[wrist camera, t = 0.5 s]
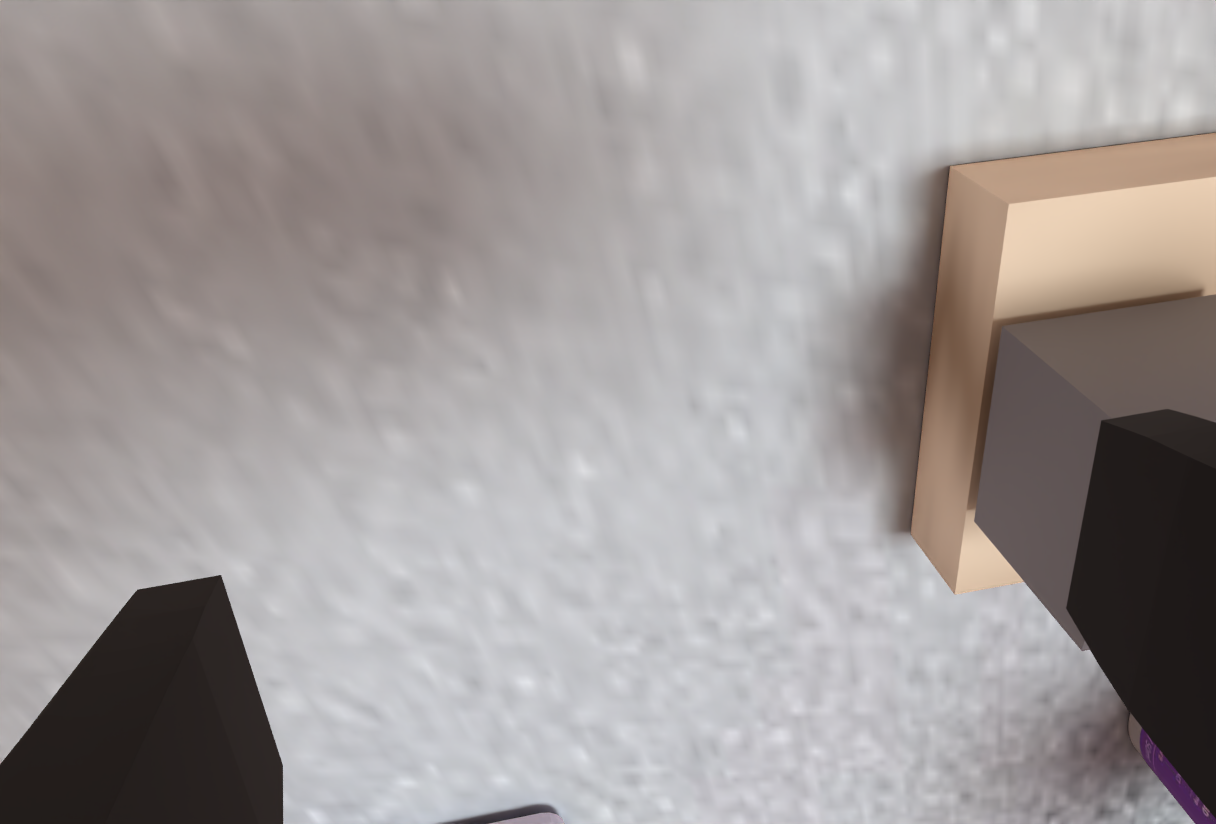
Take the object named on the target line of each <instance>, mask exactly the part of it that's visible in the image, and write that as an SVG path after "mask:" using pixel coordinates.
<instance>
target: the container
mask: <svg viewBox="0 0 1216 824" xmlns="http://www.w3.org/2000/svg"><path fill="white" fill-rule="evenodd" d="M1128 730H1129V736H1130V739H1131V742H1132V744H1133V745H1134V747H1135V748H1136V749H1137V751H1138V752H1139V753H1140V755H1141V756H1142V757H1143V759H1144V760H1145V761H1146V763H1147V764H1148V765H1149V766H1150V768H1151V769H1152V770H1153V771H1154V773H1155V774H1156V775H1157V776H1158V778H1159V779H1160V780H1161V781H1162V783H1163V784H1164V785H1165V786H1166V788H1167V789H1168V790H1169V791H1170V793H1171V794H1172V795H1173V796H1174V798H1175V799H1176V800H1177V801H1178V803H1179V804H1180V805H1181V806H1182V808H1183V809H1184V810H1185V811H1186V813H1187V814H1188V815H1189V816H1190V818H1191V819H1192V820H1193V821H1194V823H1195V824H1216V819H1215V817H1214V816H1213V815H1212V814H1211V813H1210V811H1209V810H1208V809H1207V808H1206V806H1205V805H1204V804H1203V803H1202V802H1201V800H1200V799H1199V798H1198V797H1197V795H1196V794H1195V793H1194V792H1193V791H1192V789H1191V788H1190V787H1189V786H1188V784H1187V783H1186V782H1185V781H1184V779H1183V778H1182V777H1181V776H1180V774H1179V773H1178V772H1177V771H1176V770H1175V768H1174V767H1173V766H1172V765H1171V763H1170V762H1169V761H1168V760H1167V758H1166V757H1165V756H1164V755H1163V753H1162V752H1161V751H1160V750H1159V748H1158V747H1157V746H1156V745H1155V743H1154V742H1153V741H1152V740H1151V738H1150V737H1149V736H1148V735H1147V733H1146V732H1145V731H1144V730H1143V728H1142V727H1141V726H1140V724H1139V723H1138V722H1137V721H1136V719H1135V718H1134V717H1133V715H1132V714H1131V713H1130V717H1129V724H1128Z"/></svg>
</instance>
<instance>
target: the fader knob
mask: <svg viewBox="0 0 1216 824" xmlns="http://www.w3.org/2000/svg"><path fill="white" fill-rule="evenodd" d="M1163 409H1170V410H1174V411H1178V412H1182V413H1185V414H1189V415H1192V416H1196V417H1200V418H1203V419H1206V420H1209V421H1213V422H1216V294H1215V295H1208V296H1201V297H1194V298H1188V299H1181V300H1174V301H1167V302H1161V303H1154V304H1147V305H1140V306H1134V307H1127V308H1120V309H1113V310H1107V311H1100V312H1093V313H1086V314H1080V315H1073V316H1066V317H1059V318H1053V319H1046V320H1039V321H1032V322H1026V323H1019V324H1012V325H1005V326H1002V330H1001V337H1000V344H999V351H998V358H997V365H996V372H995V379H994V386H993V393H992V400H991V407H990V413H989V420H988V427H987V434H986V441H985V448H984V455H983V462H982V469H981V476H980V483H979V490H978V497H977V504H976V511H975V518H974V522H975V523H976V524H977V525H978V527H979V528H980V529H981V530H982V531H983V533H984V534H985V535H986V536H987V537H988V539H989V540H990V541H991V542H992V544H993V545H994V546H995V547H996V548H997V550H998V551H999V552H1000V553H1001V554H1002V556H1003V557H1004V558H1005V559H1006V560H1007V562H1008V563H1009V564H1010V565H1011V566H1012V568H1013V569H1014V570H1015V571H1016V572H1017V574H1018V575H1019V576H1020V577H1021V578H1022V580H1023V581H1024V582H1025V583H1026V584H1027V586H1028V587H1029V588H1030V589H1031V590H1032V592H1033V593H1034V594H1035V595H1036V596H1037V598H1038V599H1039V600H1040V601H1041V602H1042V604H1043V605H1044V606H1045V607H1046V608H1047V610H1048V611H1049V612H1050V613H1051V614H1052V616H1053V617H1054V618H1055V619H1056V620H1057V622H1058V623H1059V624H1060V625H1061V626H1062V628H1063V629H1064V630H1065V631H1066V632H1067V634H1068V635H1069V636H1070V637H1071V638H1072V640H1073V641H1074V642H1075V643H1076V644H1077V646H1078V647H1079V648H1080V649H1081V650H1082V651H1084V650H1090V649H1089V647H1088V645H1087V643H1086V642H1085V640H1084V638H1083V637H1082V635H1081V633H1080V631H1079V630H1078V628H1077V626H1076V625H1075V623H1074V621H1073V620H1072V618H1071V616H1070V614H1069V613H1068V611H1067V609H1066V606H1067V600H1068V595H1069V590H1070V584H1071V579H1072V574H1073V568H1074V563H1075V558H1076V552H1077V547H1078V542H1079V536H1080V531H1081V525H1082V520H1083V515H1084V509H1085V504H1086V499H1087V493H1088V488H1089V483H1090V477H1091V472H1092V467H1093V461H1094V456H1095V451H1096V445H1097V440H1098V435H1099V429H1100V424H1101V420H1106V419H1112V418H1118V417H1123V416H1129V415H1135V414H1140V413H1146V412H1152V411H1158V410H1163Z"/></svg>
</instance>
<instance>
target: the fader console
mask: <svg viewBox="0 0 1216 824" xmlns="http://www.w3.org/2000/svg"><path fill="white" fill-rule="evenodd" d="M1215 294H1216V133H1210V134H1202V135H1194V136H1186V137H1178V138H1170V139H1162V140H1154V141H1146V142H1138V143H1130V144H1122V145H1114V146H1107V147H1099V148H1091V149H1083V150H1075V151H1067V152H1059V153H1051V154H1043V155H1035V156H1027V157H1019V158H1011V159H1003V160H995V161H987V162H979V163H971V164H963V165H955V166H950V172H949V181H948V190H947V200H946V209H945V218H944V228H943V237H942V246H941V256H940V265H939V274H938V284H937V293H936V302H935V312H934V321H933V330H932V340H931V349H930V358H929V368H928V377H927V386H926V396H925V405H924V414H923V424H922V433H921V442H920V452H919V461H918V470H917V480H916V489H915V498H914V508H913V517H912V526H911V536H912V537H913V538H914V540H915V541H916V542H917V544H918V545H919V546H920V548H921V549H922V551H923V552H924V553H925V555H926V556H927V557H928V559H929V560H930V561H931V563H932V564H933V566H934V567H935V568H936V570H937V571H938V572H939V574H940V575H941V576H942V578H943V579H944V581H945V582H946V583H947V585H948V586H949V587H950V589H951V590H952V591H953V593H954V594H955V595H956V594H961V593H966V592H972V591H977V590H983V589H988V588H994V587H999V586H1004V585H1010V584H1015V583H1021V582H1024V581H1023V580H1022V578H1021V577H1020V576H1019V575H1018V574H1017V572H1016V571H1015V570H1014V569H1013V568H1012V566H1011V565H1010V564H1009V563H1008V562H1007V560H1006V559H1005V558H1004V557H1003V556H1002V554H1001V553H1000V552H999V551H998V550H997V548H996V547H995V546H994V545H993V544H992V542H991V541H990V540H989V539H988V537H987V536H986V535H985V534H984V533H983V531H982V530H981V529H980V528H979V527H978V525H977V524H976V523H975V522H974V518H975V511H976V504H977V497H978V490H979V483H980V476H981V469H982V462H983V455H984V448H985V441H986V434H987V427H988V420H989V413H990V407H991V400H992V393H993V386H994V379H995V372H996V365H997V358H998V351H999V344H1000V337H1001V330H1002V326H1005V325H1012V324H1019V323H1026V322H1032V321H1039V320H1046V319H1053V318H1059V317H1066V316H1073V315H1080V314H1086V313H1093V312H1100V311H1107V310H1113V309H1120V308H1127V307H1134V306H1140V305H1147V304H1154V303H1161V302H1167V301H1174V300H1181V299H1188V298H1194V297H1201V296H1208V295H1215Z"/></svg>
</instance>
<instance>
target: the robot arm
mask: <svg viewBox="0 0 1216 824" xmlns="http://www.w3.org/2000/svg"><path fill="white" fill-rule="evenodd" d="M1066 609H1067V611H1068V613H1069V614H1070V616H1071V618H1072V620H1073V621H1074V623H1075V625H1076V626H1077V628H1078V630H1079V631H1080V633H1081V635H1082V637H1083V638H1084V640H1085V642H1086V643H1087V645H1088V647H1089V649H1090V650H1091V652H1092V654H1093V655H1094V657H1095V659H1096V660H1097V662H1098V664H1099V665H1100V667H1101V669H1102V670H1103V672H1104V673H1105V675H1106V676H1107V678H1108V679H1109V681H1110V683H1111V684H1112V686H1113V687H1114V689H1115V690H1116V692H1117V693H1118V695H1119V697H1120V698H1121V700H1122V701H1123V703H1124V704H1125V706H1126V707H1127V709H1128V710H1129V712H1130V713H1131V714H1132V715H1133V717H1134V718H1135V719H1136V721H1137V722H1138V723H1139V724H1140V726H1141V727H1142V728H1143V730H1144V731H1145V732H1146V733H1147V735H1148V736H1149V737H1150V738H1151V740H1152V741H1153V742H1154V743H1155V745H1156V746H1157V747H1158V748H1159V750H1160V751H1161V752H1162V753H1163V755H1164V756H1165V757H1166V758H1167V760H1168V761H1169V762H1170V763H1171V765H1172V766H1173V767H1174V768H1175V770H1176V771H1177V772H1178V773H1179V774H1180V776H1181V777H1182V778H1183V779H1184V781H1185V782H1186V783H1187V784H1188V786H1189V787H1190V788H1191V789H1192V791H1193V792H1194V793H1195V794H1196V795H1197V797H1198V798H1199V799H1200V800H1201V802H1202V803H1203V804H1204V805H1205V806H1206V808H1207V809H1208V810H1209V811H1210V813H1211V814H1212V815H1213V816H1214V817H1215V819H1216V422H1213V421H1209V420H1206V419H1203V418H1200V417H1196V416H1192V415H1189V414H1185V413H1182V412H1178V411H1174V410H1170V409H1163V410H1158V411H1152V412H1146V413H1140V414H1135V415H1129V416H1123V417H1118V418H1112V419H1106V420H1101V424H1100V429H1099V435H1098V440H1097V445H1096V451H1095V456H1094V461H1093V467H1092V472H1091V477H1090V483H1089V488H1088V493H1087V499H1086V504H1085V509H1084V515H1083V520H1082V525H1081V531H1080V536H1079V542H1078V547H1077V552H1076V558H1075V563H1074V568H1073V574H1072V579H1071V584H1070V590H1069V595H1068V600H1067V606H1066ZM0 824H283V765H282V762H281V758H280V755H279V752H278V749H277V746H276V743H275V740H274V737H273V734H272V731H271V728H270V725H269V722H268V718H267V715H266V712H265V709H264V706H263V703H262V700H261V697H260V694H259V691H258V688H257V685H256V681H255V678H254V675H253V672H252V669H251V666H250V663H249V660H248V657H247V654H246V651H245V648H244V645H243V641H242V638H241V635H240V632H239V629H238V626H237V623H236V620H235V617H234V614H233V611H232V608H231V604H230V601H229V598H228V595H227V592H226V589H225V586H224V583H223V580H222V577H221V575H219V576H213V577H208V578H202V579H196V580H190V581H185V582H179V583H173V584H168V585H162V586H156V587H151V588H145V589H139V590H137V591H136V592H135V593H134V595H133V596H132V597H131V598H130V600H129V601H128V602H127V603H126V605H125V606H124V607H123V608H122V609H121V611H120V612H119V613H118V615H117V616H116V617H115V618H114V620H113V621H112V622H111V623H110V625H109V626H108V627H107V628H106V630H105V631H104V632H103V634H102V635H101V636H100V637H99V639H98V640H97V641H96V643H95V644H94V645H93V646H92V648H91V649H90V650H89V652H88V653H87V654H86V655H85V657H84V658H83V659H82V661H81V662H80V663H79V664H78V666H77V667H76V668H75V670H74V671H73V672H72V674H71V675H70V676H69V677H68V679H67V680H66V681H65V683H64V684H63V685H62V687H61V688H60V689H59V690H58V692H57V693H56V694H55V696H54V697H53V698H52V699H51V701H50V702H49V703H48V705H47V706H46V707H45V708H44V710H43V711H42V712H41V714H40V715H39V716H38V717H37V719H36V720H35V721H34V723H33V724H32V725H31V726H30V728H29V729H28V730H27V732H26V733H25V734H24V735H23V737H22V738H21V739H20V741H19V742H18V743H17V744H16V745H15V747H14V748H13V749H12V750H11V752H10V753H9V754H8V755H7V757H6V758H5V759H4V760H3V762H2V763H1V764H0ZM488 824H565V823H564V821H563V819H562V818H561V817H560V816H559V815H557V814H553V813H549V812H546V813H538V814H533V815H528V816H523V817H518V818H513V819H508V820H503V821H498V822H493V823H488Z"/></svg>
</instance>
